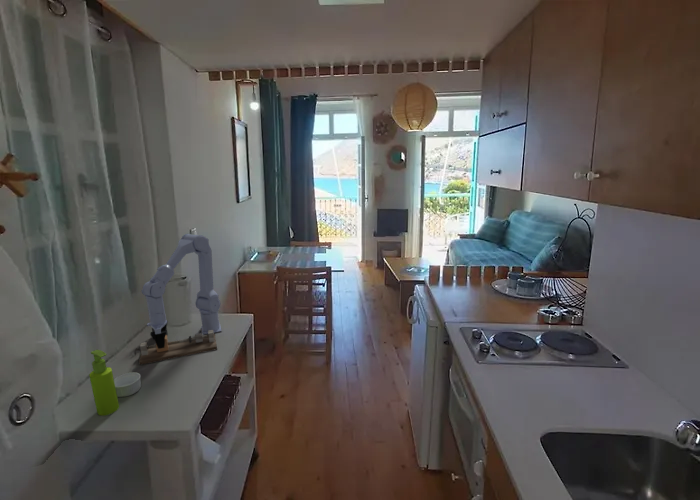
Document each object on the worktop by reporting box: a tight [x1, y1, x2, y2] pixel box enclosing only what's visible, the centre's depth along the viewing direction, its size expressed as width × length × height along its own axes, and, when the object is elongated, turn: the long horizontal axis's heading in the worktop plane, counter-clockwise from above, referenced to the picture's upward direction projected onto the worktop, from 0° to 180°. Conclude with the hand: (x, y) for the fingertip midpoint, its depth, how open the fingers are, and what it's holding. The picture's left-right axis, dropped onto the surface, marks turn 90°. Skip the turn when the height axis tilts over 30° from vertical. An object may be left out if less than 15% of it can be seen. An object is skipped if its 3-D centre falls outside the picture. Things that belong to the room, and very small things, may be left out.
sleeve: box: [155, 335, 169, 352], centre depth 161 cm, size 4×4×5 cm
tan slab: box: [138, 330, 218, 366], centre depth 163 cm, size 13×28×5 cm, turn 112°
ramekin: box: [114, 371, 142, 398], centre depth 136 cm, size 9×9×4 cm
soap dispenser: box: [89, 349, 120, 417], centre depth 124 cm, size 6×7×20 cm
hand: (161, 343), depth 161 cm, fingers open, 7 cm apart
